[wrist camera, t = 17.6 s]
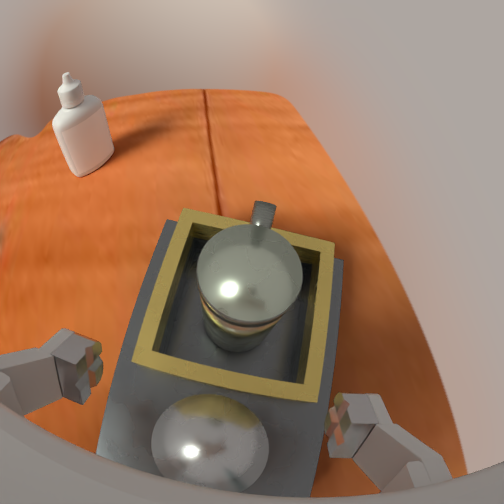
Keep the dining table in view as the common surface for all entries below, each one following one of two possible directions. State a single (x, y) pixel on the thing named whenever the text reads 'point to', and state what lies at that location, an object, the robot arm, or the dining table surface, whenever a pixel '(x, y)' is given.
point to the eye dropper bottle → (82, 128)
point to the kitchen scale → (224, 376)
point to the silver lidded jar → (247, 281)
